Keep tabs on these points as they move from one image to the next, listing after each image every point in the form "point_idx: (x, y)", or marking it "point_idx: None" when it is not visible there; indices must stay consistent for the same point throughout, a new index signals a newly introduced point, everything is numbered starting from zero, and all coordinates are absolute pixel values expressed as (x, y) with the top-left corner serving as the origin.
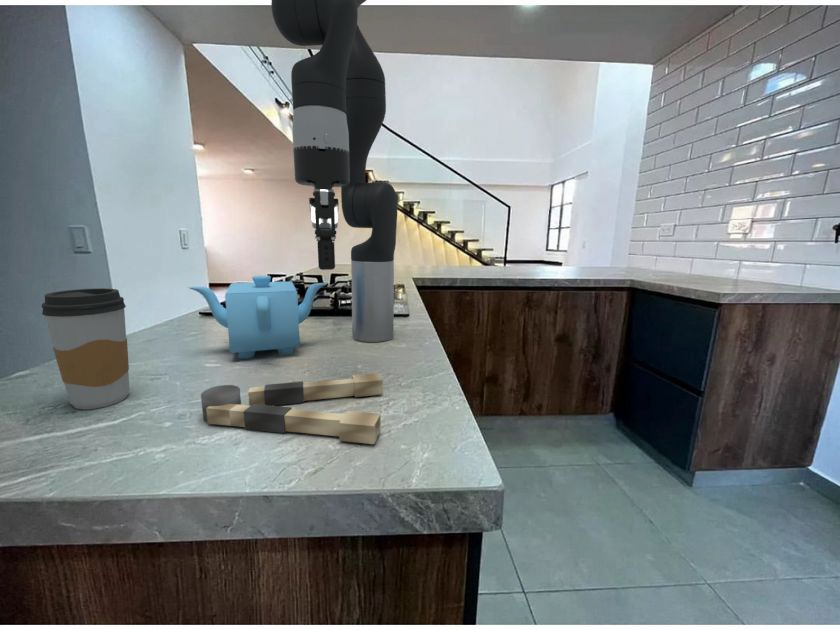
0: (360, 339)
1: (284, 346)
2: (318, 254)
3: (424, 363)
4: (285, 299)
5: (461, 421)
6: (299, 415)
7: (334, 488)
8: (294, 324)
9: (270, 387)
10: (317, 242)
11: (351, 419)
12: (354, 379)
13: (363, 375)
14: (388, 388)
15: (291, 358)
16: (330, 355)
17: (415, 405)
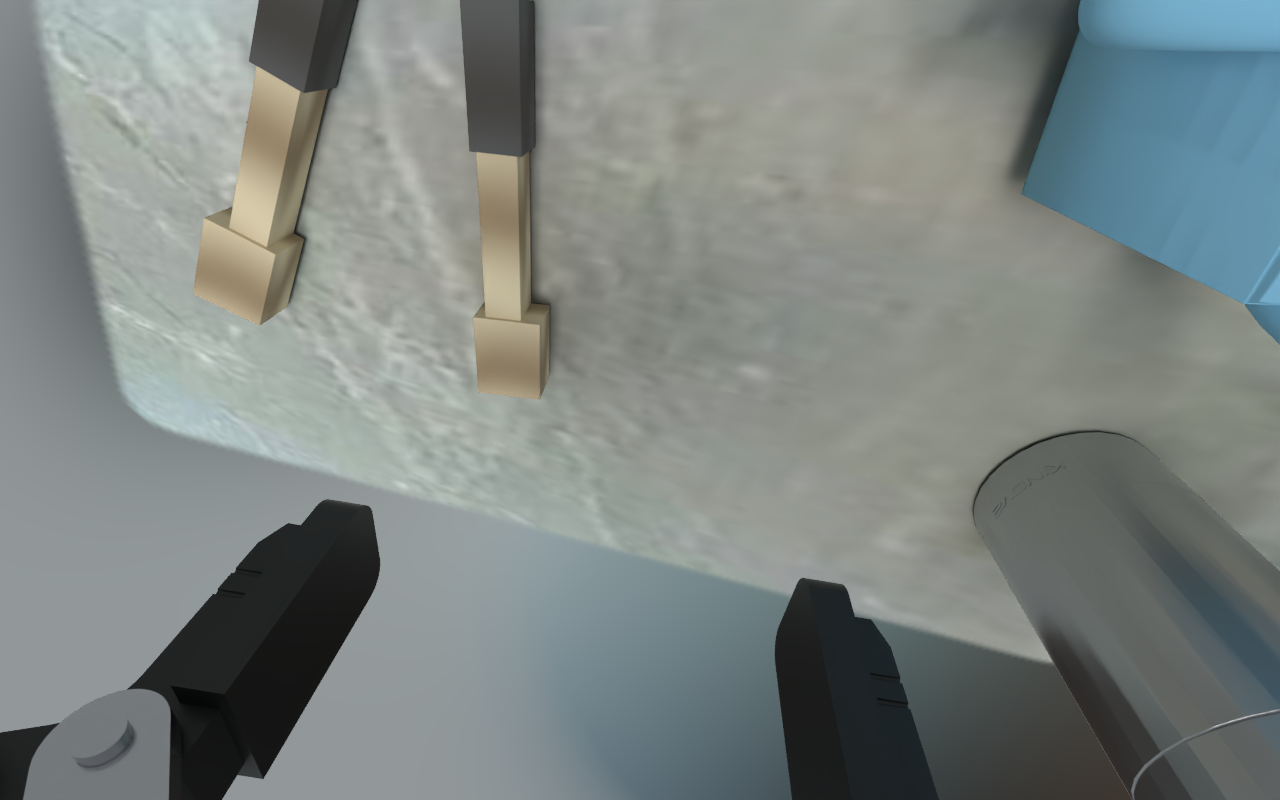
0: (1036, 449)
1: (1054, 116)
2: (259, 583)
3: (696, 531)
4: (1252, 196)
5: (337, 465)
6: (258, 114)
7: (66, 156)
8: (1100, 203)
9: (484, 20)
10: (173, 682)
11: (223, 252)
12: (498, 322)
13: (526, 354)
14: (543, 395)
15: (995, 139)
16: (932, 305)
17: (425, 417)
